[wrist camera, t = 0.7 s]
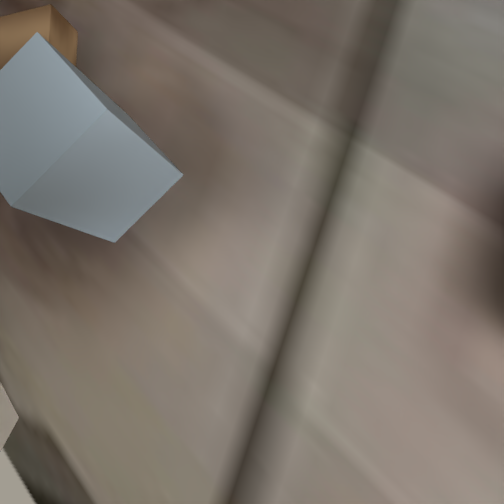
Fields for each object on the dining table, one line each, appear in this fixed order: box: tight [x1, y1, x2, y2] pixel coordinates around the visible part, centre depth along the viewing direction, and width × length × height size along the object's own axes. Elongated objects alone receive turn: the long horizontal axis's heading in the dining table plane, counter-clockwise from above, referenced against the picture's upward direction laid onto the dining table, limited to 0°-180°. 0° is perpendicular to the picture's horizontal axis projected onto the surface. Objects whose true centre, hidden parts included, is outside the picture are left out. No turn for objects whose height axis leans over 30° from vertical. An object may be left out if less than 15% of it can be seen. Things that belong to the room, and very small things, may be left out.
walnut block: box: [0, 4, 78, 70], centre depth 39 cm, size 12×12×4 cm
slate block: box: [0, 32, 183, 243], centre depth 31 cm, size 8×8×11 cm
